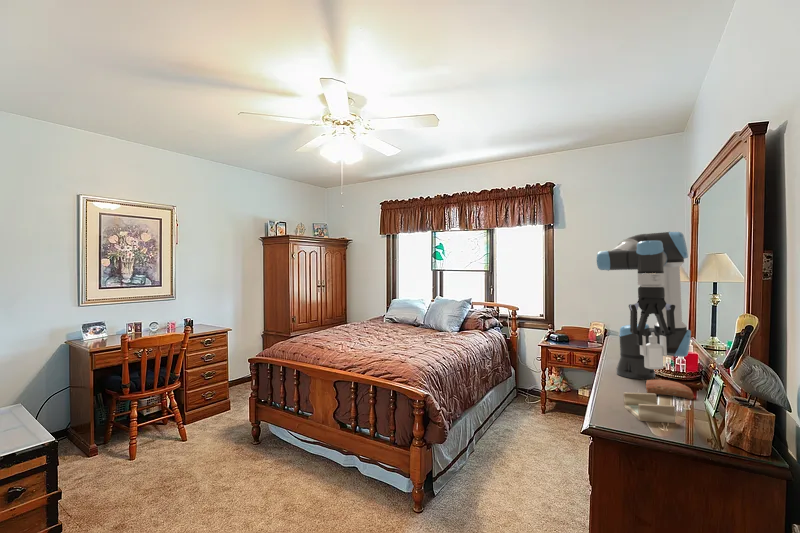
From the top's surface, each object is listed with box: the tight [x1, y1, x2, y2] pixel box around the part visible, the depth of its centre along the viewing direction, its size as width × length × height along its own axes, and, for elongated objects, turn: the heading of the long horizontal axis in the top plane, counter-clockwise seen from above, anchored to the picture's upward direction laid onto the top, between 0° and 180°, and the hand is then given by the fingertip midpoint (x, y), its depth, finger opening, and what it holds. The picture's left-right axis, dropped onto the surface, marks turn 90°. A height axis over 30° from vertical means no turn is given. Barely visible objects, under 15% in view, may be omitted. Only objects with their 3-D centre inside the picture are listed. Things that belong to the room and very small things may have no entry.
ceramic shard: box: [645, 379, 695, 400], centre depth 150 cm, size 15×6×15 cm
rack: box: [623, 392, 676, 424], centre depth 127 cm, size 13×10×5 cm
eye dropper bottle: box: [644, 332, 664, 370], centre depth 128 cm, size 4×6×12 cm
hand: (653, 355), depth 128 cm, fingers closed on eye dropper bottle, 5 cm apart
